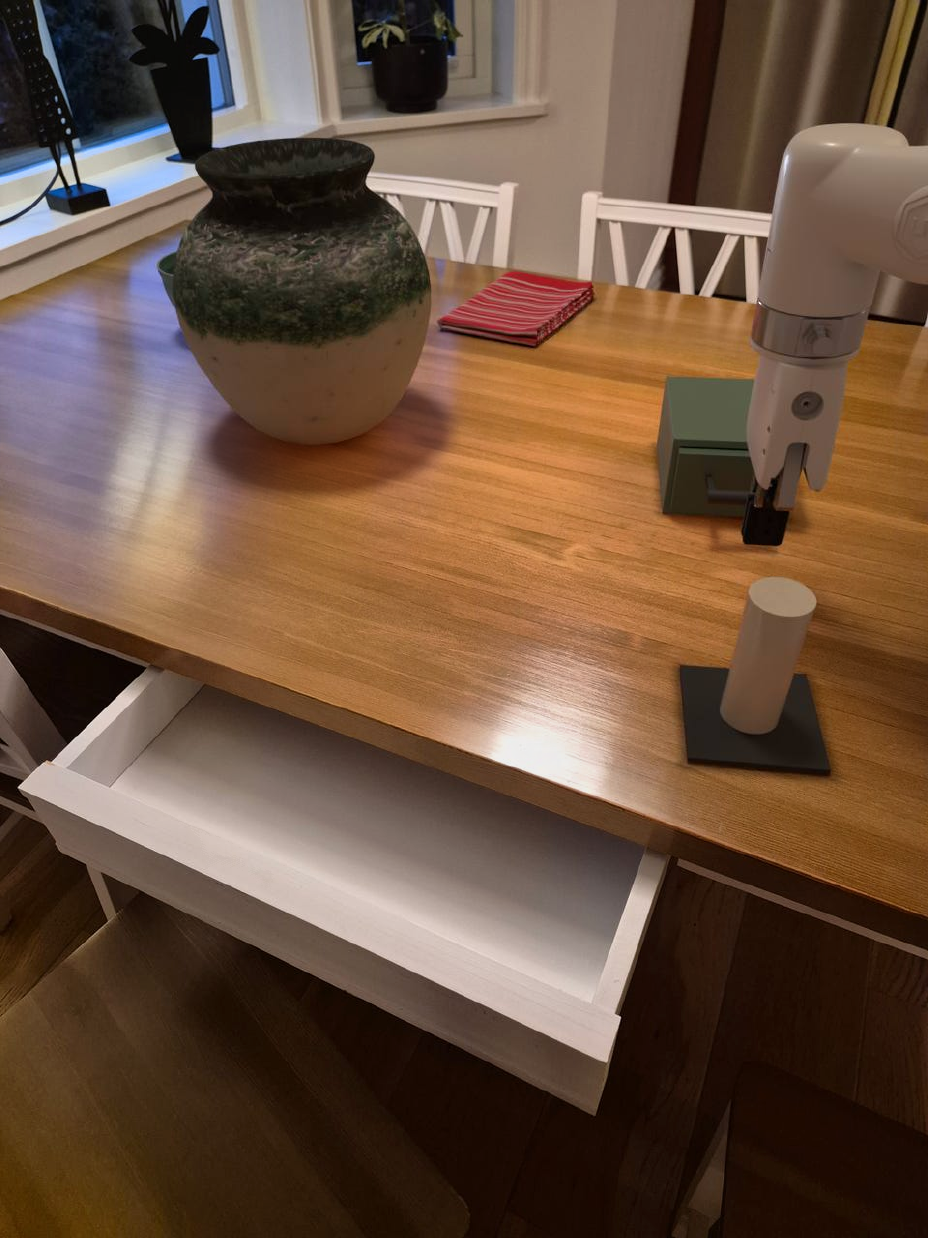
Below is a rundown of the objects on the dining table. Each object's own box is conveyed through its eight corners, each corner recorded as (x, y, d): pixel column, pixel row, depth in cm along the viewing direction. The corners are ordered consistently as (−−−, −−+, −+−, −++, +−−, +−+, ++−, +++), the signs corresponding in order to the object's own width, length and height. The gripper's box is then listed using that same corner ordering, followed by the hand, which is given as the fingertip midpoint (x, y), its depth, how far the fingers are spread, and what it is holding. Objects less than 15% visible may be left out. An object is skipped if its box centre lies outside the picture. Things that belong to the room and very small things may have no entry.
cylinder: (774, 695, 65) (810, 578, 58) (783, 737, 62) (822, 618, 55) (717, 690, 66) (745, 574, 58) (722, 732, 62) (753, 614, 55)
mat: (804, 679, 67) (806, 673, 67) (829, 775, 60) (831, 770, 59) (679, 669, 69) (680, 664, 68) (687, 763, 61) (688, 757, 61)
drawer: (792, 542, 80) (809, 481, 76) (672, 535, 82) (682, 475, 77) (766, 453, 94) (779, 396, 90) (663, 448, 95) (671, 392, 91)
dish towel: (597, 297, 136) (598, 280, 134) (537, 348, 120) (538, 330, 119) (503, 283, 143) (503, 267, 141) (435, 330, 127) (434, 312, 125)
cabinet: (787, 519, 85) (808, 444, 80) (662, 513, 87) (673, 438, 81) (767, 450, 96) (784, 379, 91) (656, 445, 98) (666, 375, 92)
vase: (180, 485, 93) (98, 192, 74) (236, 379, 115) (184, 131, 96) (433, 481, 93) (417, 185, 73) (441, 375, 114) (430, 124, 95)
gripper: (889, 368, 53) (823, 595, 65) (840, 291, 65) (792, 496, 76) (767, 366, 54) (724, 590, 66) (741, 291, 66) (707, 493, 77)
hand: (760, 539), depth 71 cm, fingers closed
